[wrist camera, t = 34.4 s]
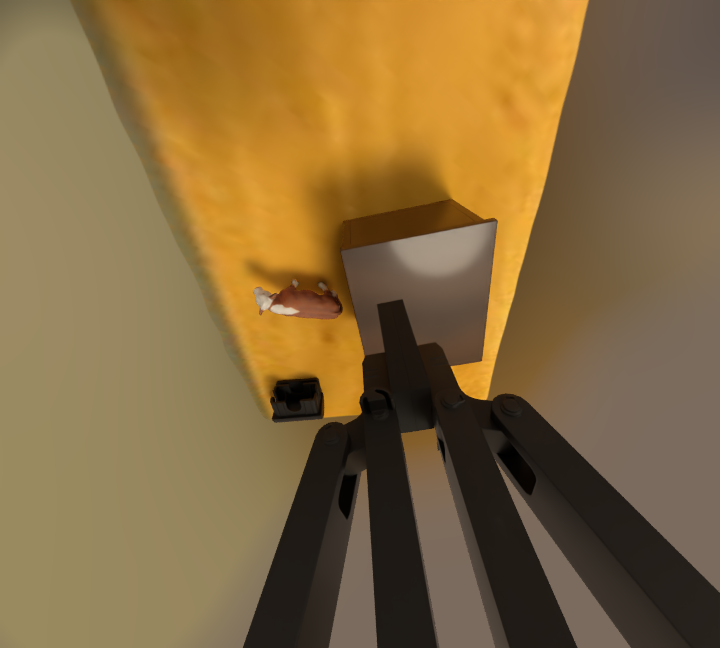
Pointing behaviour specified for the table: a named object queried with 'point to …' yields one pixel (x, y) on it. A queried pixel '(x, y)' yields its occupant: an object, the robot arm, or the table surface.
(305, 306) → the bull figurine
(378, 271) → the chest lid
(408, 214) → the chest
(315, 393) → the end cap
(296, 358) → the table surface
